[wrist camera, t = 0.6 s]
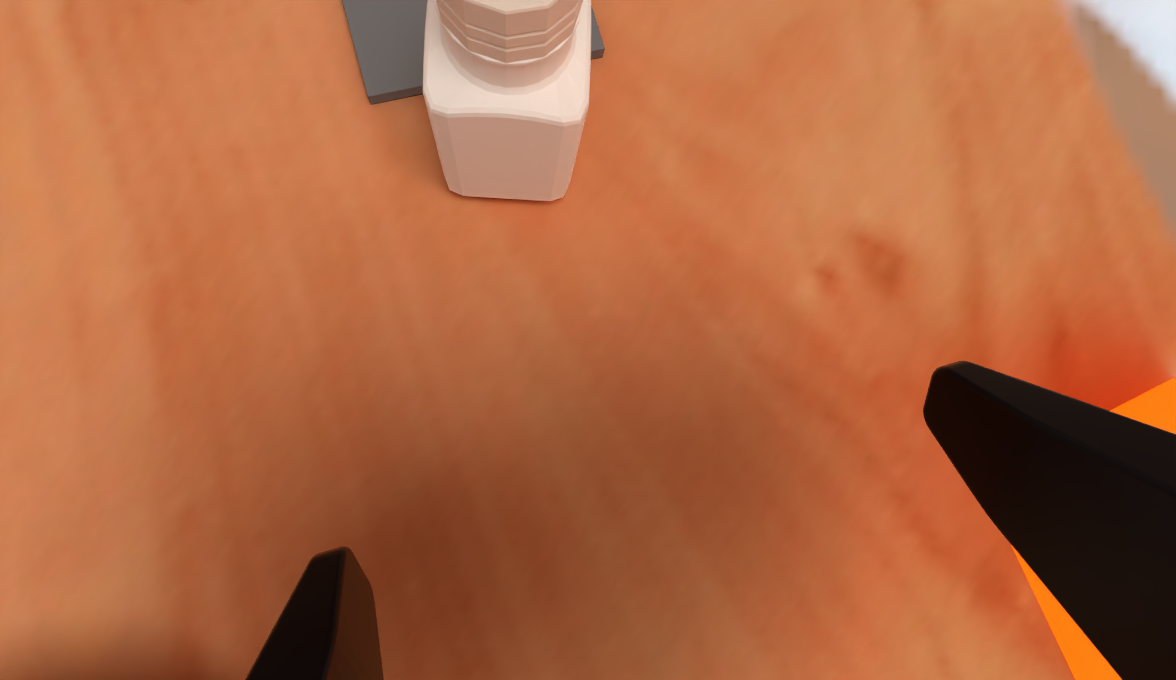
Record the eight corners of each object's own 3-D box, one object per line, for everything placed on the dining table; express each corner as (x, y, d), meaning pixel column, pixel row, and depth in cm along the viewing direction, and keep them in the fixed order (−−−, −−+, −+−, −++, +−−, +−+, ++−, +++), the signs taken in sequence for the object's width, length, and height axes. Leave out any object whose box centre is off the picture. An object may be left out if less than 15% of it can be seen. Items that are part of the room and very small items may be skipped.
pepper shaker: (451, 86, 22) (407, -172, 12) (570, 96, 22) (614, -146, 13) (445, 201, 21) (394, 21, 12) (567, 208, 22) (611, 40, 12)
